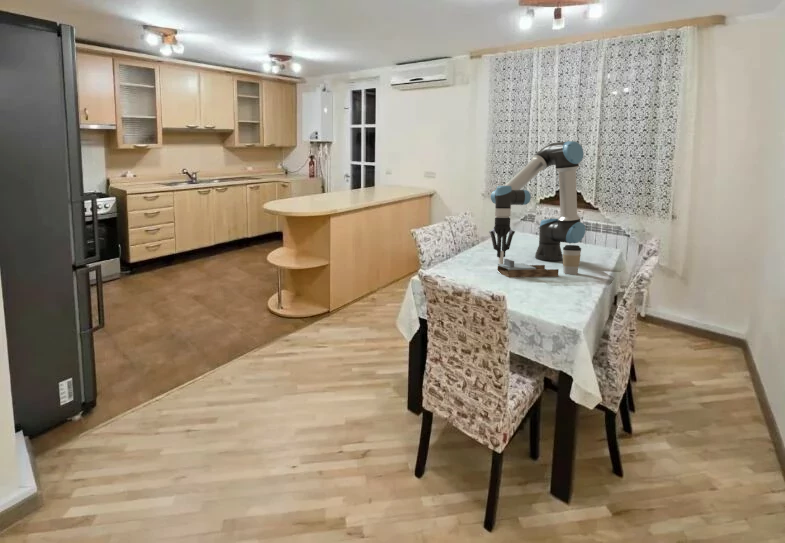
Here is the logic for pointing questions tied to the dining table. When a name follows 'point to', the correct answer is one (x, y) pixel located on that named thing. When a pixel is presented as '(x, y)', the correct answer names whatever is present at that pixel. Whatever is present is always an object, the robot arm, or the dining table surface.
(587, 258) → the dining table surface
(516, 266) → the lid
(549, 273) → the wooden tray
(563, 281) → the dining table surface
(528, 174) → the robot arm
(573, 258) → the coffee cup
